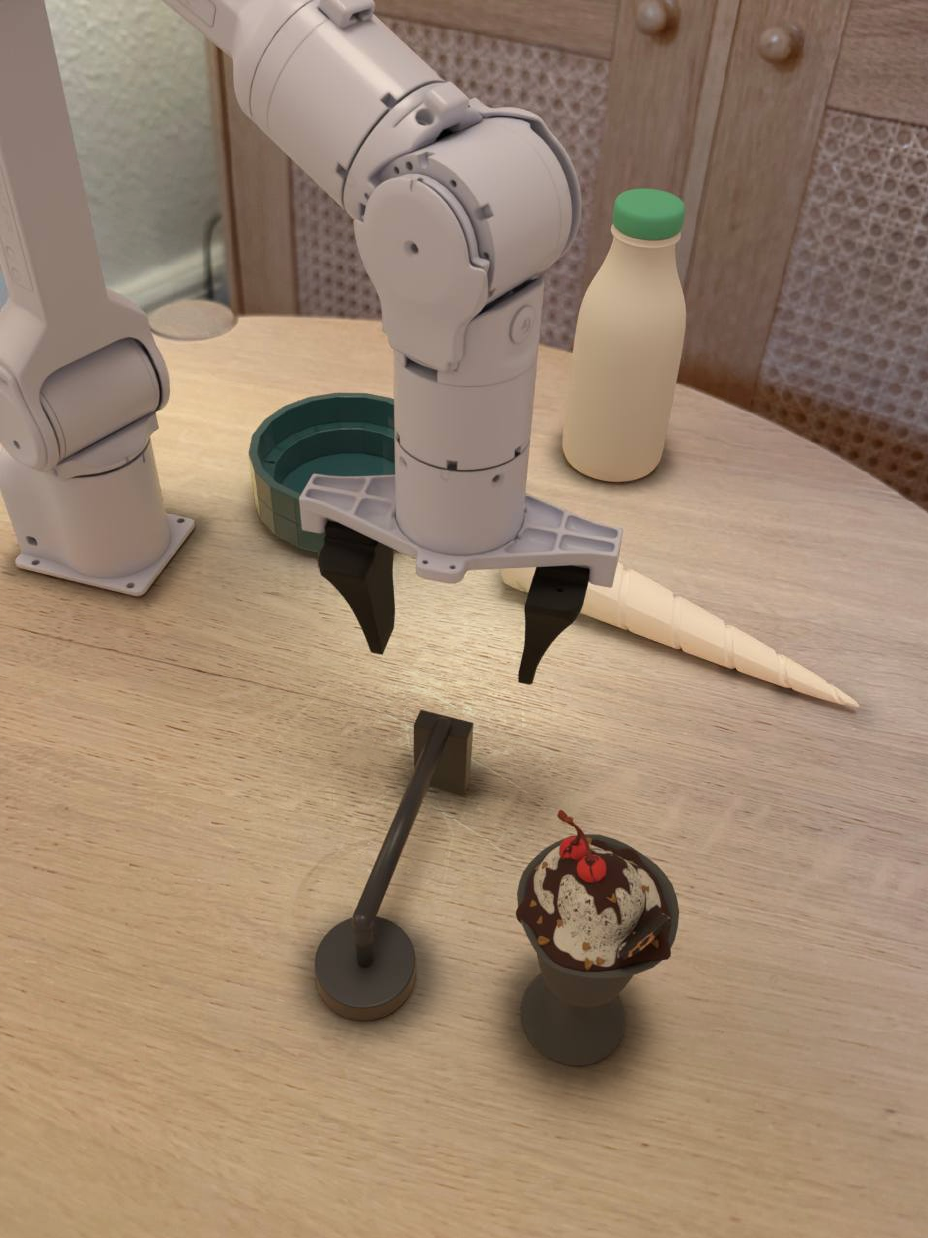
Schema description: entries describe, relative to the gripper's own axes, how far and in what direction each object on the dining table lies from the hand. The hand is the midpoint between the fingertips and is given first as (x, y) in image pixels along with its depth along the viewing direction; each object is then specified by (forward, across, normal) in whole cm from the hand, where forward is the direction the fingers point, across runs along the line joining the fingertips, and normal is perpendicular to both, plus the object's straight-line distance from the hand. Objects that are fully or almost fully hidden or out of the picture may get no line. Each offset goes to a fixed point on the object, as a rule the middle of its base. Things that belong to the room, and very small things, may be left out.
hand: (454, 654), depth 55 cm
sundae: (+10, +9, -12) cm, 18 cm away
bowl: (+10, -13, +22) cm, 27 cm away
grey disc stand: (+10, -1, -8) cm, 12 cm away
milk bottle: (+10, +4, +33) cm, 35 cm away
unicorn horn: (+10, +10, +14) cm, 20 cm away
